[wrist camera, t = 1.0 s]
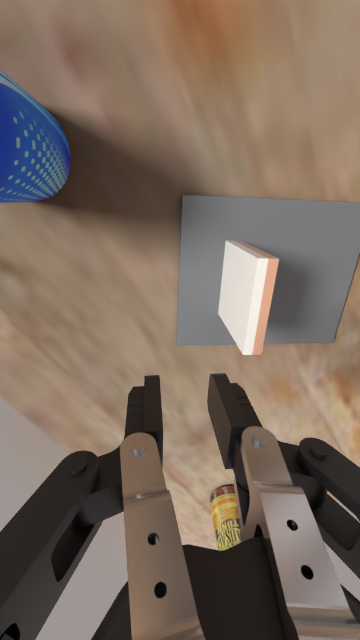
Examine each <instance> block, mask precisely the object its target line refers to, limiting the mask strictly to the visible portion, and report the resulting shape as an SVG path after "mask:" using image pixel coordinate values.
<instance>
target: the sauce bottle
mask: <svg viewBox="0 0 360 640" xmlns="http://www.w3.org/2000/svg"><path fill="white" fill-rule="evenodd" d="M210 501H211V506H210V507H211V513H212V518H213V524H214V530H215V535H216V541H217V547H218V551H223V550H226V549H228V548H230V547H233V546H235V545H237V544H239V543H241V528H240V522H239V515H238V509H237V503H236V496H235V490H234V486H230V485H229V486H223V487H219V488H218V489H216V490H215V491H214V492H213V493H212V494H211V499H210Z"/></svg>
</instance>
